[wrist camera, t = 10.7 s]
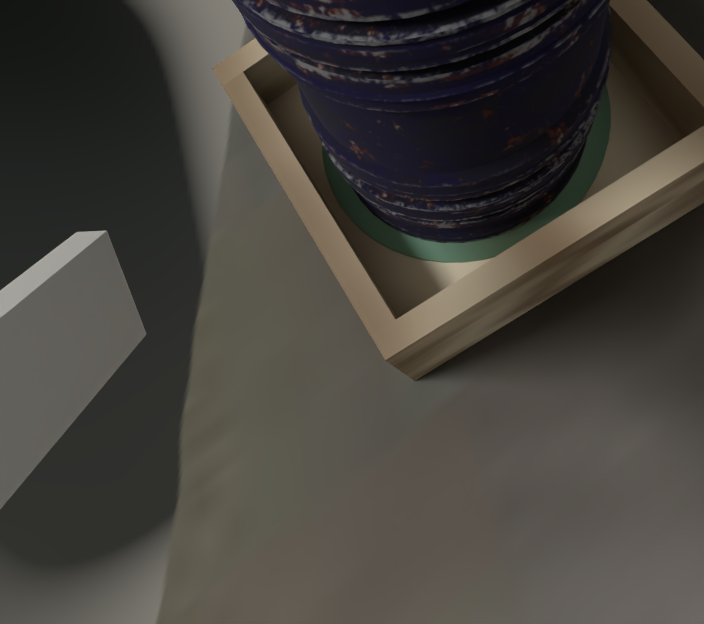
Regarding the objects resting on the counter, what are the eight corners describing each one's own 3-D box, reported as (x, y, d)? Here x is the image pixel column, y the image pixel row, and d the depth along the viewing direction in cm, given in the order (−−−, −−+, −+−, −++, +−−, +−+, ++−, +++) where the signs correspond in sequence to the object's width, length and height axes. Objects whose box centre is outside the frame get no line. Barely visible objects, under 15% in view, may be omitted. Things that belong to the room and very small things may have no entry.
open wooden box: (511, -20, 30) (511, -142, 24) (703, 202, 25) (765, 123, 19) (271, 143, 31) (212, 68, 25) (414, 380, 27) (385, 360, 21)
